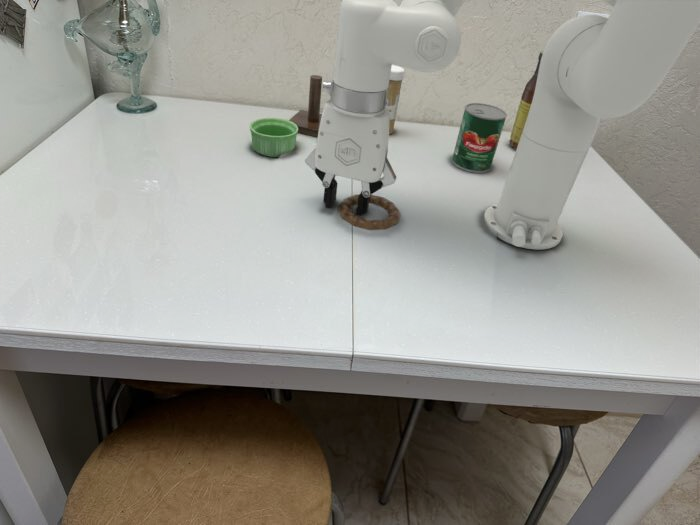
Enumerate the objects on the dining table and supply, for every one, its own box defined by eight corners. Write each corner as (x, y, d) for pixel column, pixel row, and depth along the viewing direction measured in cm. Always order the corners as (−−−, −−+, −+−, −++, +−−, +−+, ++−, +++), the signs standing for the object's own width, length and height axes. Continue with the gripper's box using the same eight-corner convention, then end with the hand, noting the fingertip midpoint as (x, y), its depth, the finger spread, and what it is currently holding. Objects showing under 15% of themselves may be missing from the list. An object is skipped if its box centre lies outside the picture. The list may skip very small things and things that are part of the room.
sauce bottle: (533, 143, 111) (565, 51, 99) (538, 155, 106) (574, 59, 94) (504, 139, 111) (533, 47, 99) (508, 150, 106) (540, 54, 94)
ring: (391, 240, 73) (393, 230, 72) (330, 224, 75) (331, 214, 74) (403, 210, 81) (405, 200, 80) (348, 196, 82) (349, 187, 81)
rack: (326, 139, 100) (330, 87, 94) (285, 129, 102) (286, 78, 95) (339, 124, 107) (344, 75, 101) (300, 116, 109) (303, 67, 103)
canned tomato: (477, 154, 103) (492, 102, 96) (498, 172, 97) (515, 118, 90) (444, 156, 100) (457, 102, 94) (463, 174, 94) (478, 118, 88)
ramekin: (261, 135, 98) (261, 113, 96) (303, 145, 97) (305, 123, 94) (241, 152, 91) (241, 129, 89) (286, 162, 90) (287, 140, 87)
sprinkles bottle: (370, 131, 106) (379, 67, 98) (376, 125, 110) (386, 62, 101) (390, 136, 105) (401, 72, 97) (396, 129, 109) (407, 67, 101)
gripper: (291, 92, 66) (287, 209, 77) (414, 118, 63) (391, 235, 74) (310, 78, 72) (303, 188, 83) (423, 101, 69) (400, 212, 80)
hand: (345, 209), depth 78 cm, fingers open, 4 cm apart
